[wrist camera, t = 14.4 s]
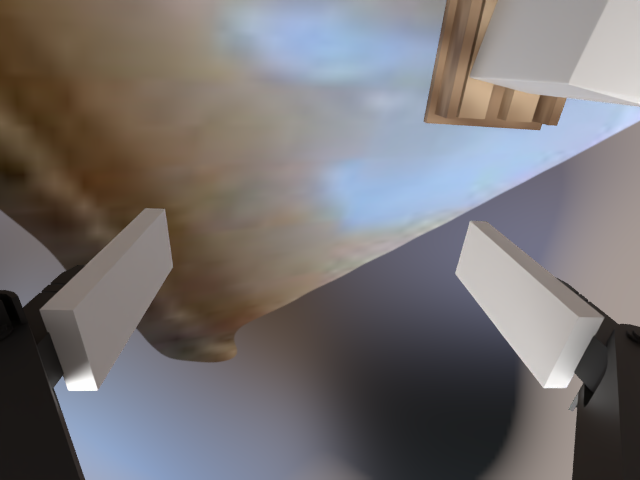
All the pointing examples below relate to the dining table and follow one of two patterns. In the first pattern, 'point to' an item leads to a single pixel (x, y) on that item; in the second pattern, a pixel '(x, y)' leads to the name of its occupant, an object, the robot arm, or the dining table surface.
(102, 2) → the dining table surface
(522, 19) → the milk carton
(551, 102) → the display stand
